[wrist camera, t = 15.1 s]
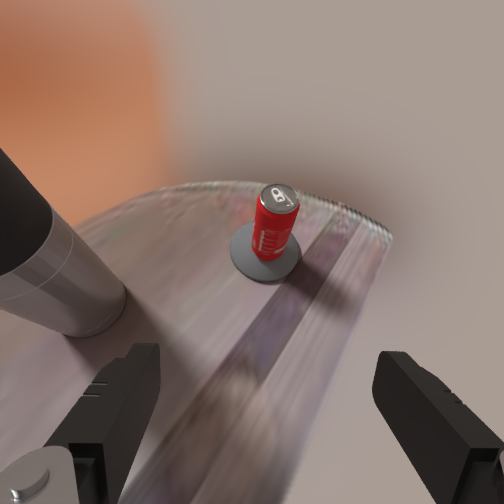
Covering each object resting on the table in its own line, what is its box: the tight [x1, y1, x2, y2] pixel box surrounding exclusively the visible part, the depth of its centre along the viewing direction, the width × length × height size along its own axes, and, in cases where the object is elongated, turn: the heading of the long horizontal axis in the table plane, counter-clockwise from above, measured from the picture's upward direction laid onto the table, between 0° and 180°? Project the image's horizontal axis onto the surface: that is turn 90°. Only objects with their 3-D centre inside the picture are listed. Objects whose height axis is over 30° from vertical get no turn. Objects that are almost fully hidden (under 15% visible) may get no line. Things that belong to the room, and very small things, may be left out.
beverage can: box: [251, 183, 300, 261], centre depth 35 cm, size 5×5×12 cm
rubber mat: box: [230, 221, 299, 282], centre depth 41 cm, size 11×11×1 cm
